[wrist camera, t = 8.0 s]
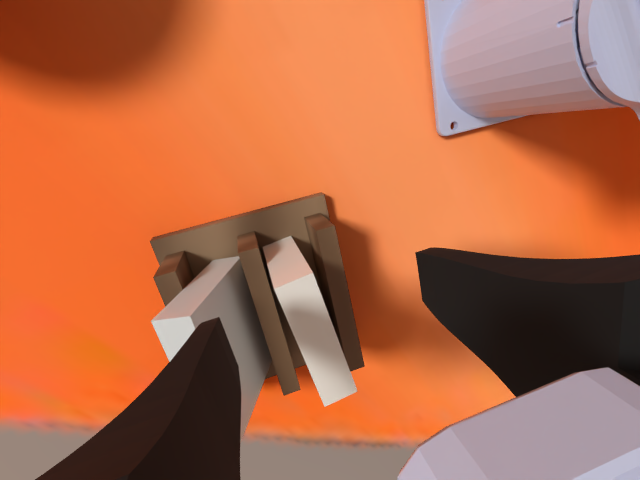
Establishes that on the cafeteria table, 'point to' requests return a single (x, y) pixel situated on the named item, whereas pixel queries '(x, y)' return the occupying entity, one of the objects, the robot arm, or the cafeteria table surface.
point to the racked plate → (237, 319)
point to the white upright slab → (309, 320)
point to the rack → (267, 272)
